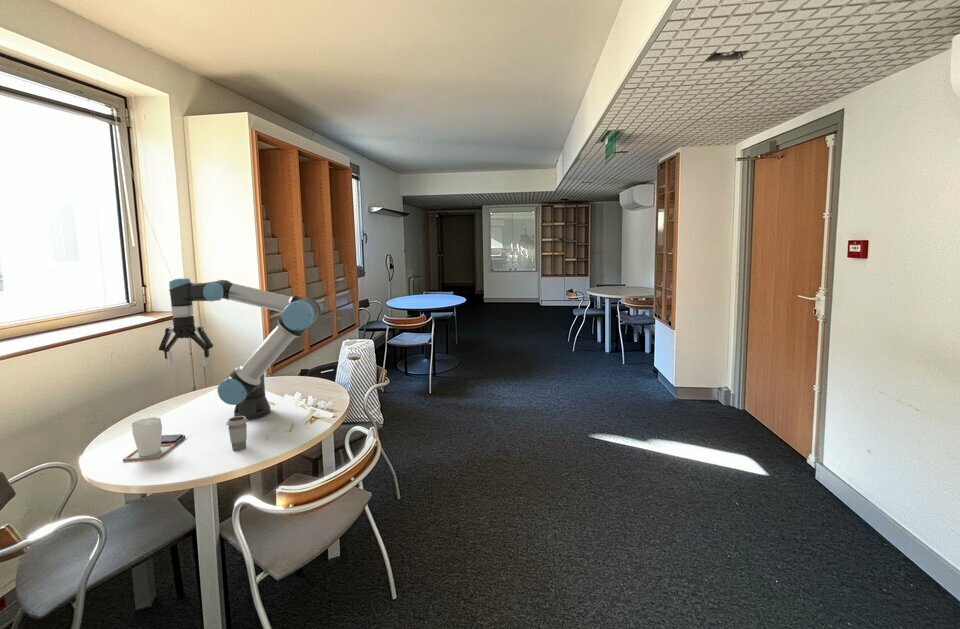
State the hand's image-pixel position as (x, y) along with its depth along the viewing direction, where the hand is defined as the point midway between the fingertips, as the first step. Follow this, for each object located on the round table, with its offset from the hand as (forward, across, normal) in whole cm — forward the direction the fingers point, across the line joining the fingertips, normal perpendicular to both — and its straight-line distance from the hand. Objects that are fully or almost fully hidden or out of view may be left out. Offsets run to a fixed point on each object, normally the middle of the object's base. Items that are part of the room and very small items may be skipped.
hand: (188, 365), depth 201 cm
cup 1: (+26, +4, +27) cm, 38 cm away
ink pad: (+27, +4, +17) cm, 32 cm away
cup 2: (+27, -27, +27) cm, 47 cm away
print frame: (+27, +4, +27) cm, 38 cm away
